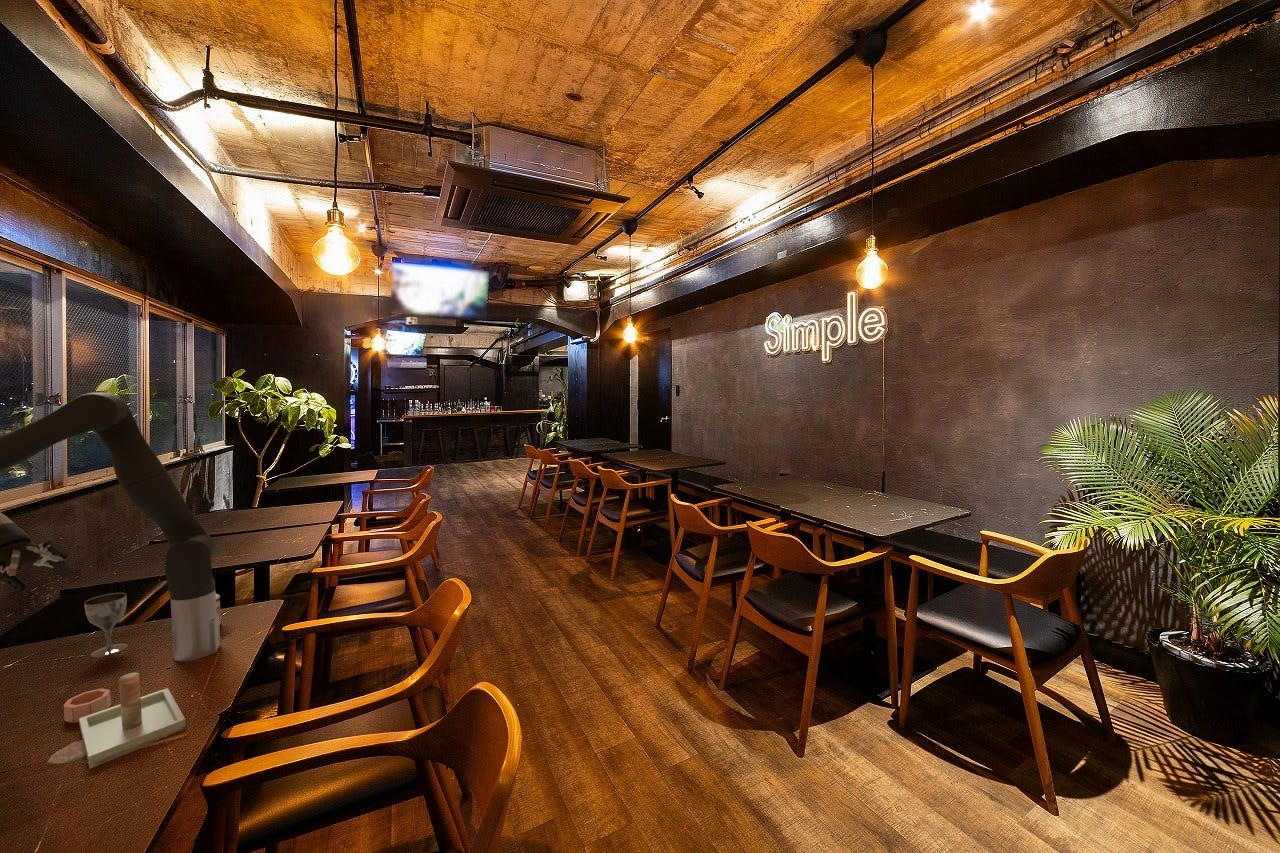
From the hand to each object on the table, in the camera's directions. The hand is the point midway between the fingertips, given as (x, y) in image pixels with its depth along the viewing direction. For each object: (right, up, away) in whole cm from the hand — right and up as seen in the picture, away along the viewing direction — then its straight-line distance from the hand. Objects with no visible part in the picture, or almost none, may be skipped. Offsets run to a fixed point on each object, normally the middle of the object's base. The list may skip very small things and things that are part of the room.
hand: (48, 582), depth 114 cm
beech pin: (+27, -29, -7) cm, 40 cm away
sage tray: (+27, -30, -7) cm, 40 cm away
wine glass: (-12, -27, +25) cm, 39 cm away
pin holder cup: (+12, -29, -2) cm, 31 cm away
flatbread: (+22, -30, -14) cm, 40 cm away
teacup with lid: (+1, -26, +39) cm, 47 cm away
